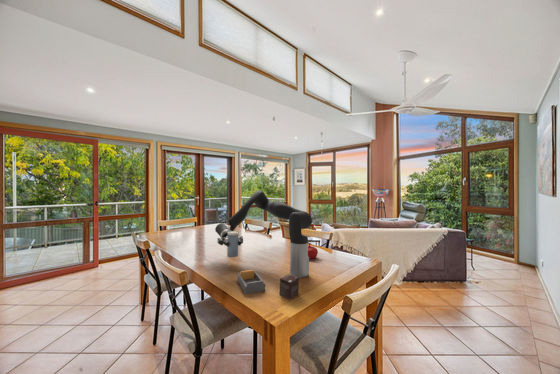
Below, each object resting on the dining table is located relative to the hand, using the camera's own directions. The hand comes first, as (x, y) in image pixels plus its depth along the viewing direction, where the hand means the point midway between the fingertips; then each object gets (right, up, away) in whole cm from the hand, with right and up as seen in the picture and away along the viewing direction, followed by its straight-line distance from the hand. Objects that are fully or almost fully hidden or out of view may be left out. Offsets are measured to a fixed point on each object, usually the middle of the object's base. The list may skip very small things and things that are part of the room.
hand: (233, 244), depth 113 cm
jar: (-1, -7, +2) cm, 7 cm away
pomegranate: (+43, -18, +34) cm, 58 cm away
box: (+27, -18, -16) cm, 36 cm away
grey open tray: (+9, -17, -7) cm, 21 cm away
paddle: (+7, -17, -1) cm, 18 cm away
